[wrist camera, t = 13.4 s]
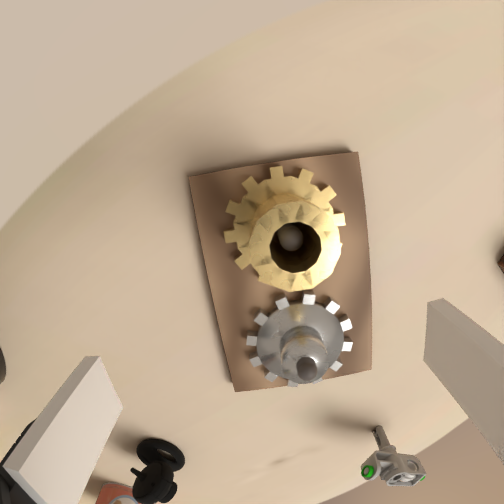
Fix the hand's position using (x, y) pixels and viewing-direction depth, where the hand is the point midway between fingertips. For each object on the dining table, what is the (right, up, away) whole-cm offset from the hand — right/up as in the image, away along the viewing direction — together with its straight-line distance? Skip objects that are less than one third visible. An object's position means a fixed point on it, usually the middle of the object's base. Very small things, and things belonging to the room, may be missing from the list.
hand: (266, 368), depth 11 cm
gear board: (+4, +1, +21) cm, 22 cm away
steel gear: (+4, -5, +21) cm, 22 cm away
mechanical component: (+17, -21, +27) cm, 38 cm away
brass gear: (+3, +7, +18) cm, 20 cm away
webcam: (-14, -26, +29) cm, 41 cm away
